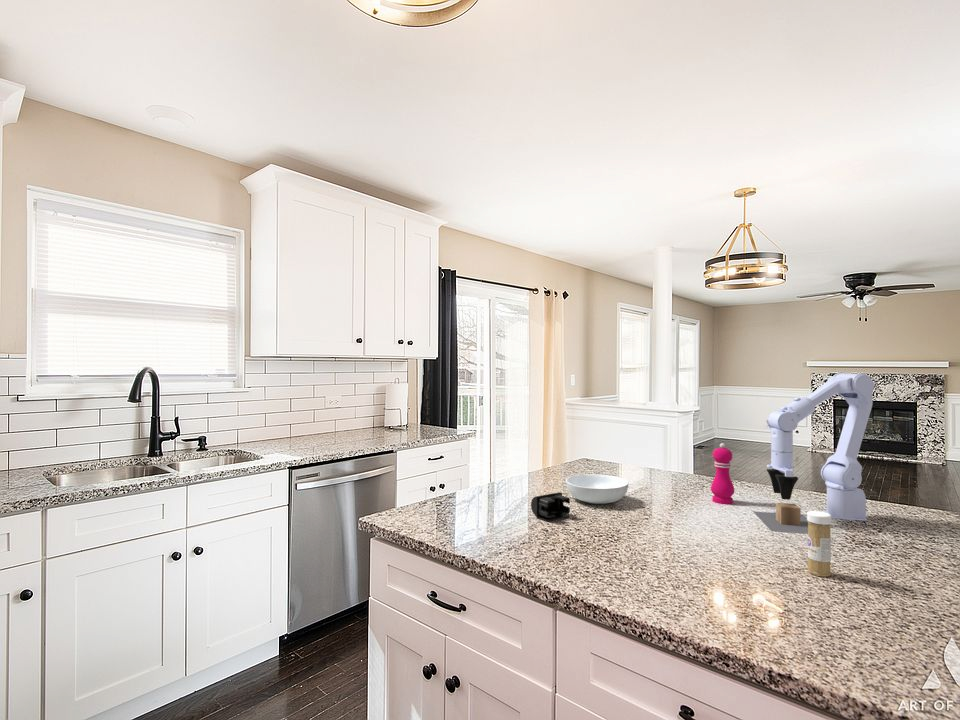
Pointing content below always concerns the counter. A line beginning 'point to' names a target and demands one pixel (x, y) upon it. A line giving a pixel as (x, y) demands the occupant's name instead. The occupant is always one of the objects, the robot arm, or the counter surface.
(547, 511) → the end cap
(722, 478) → the pepper mill
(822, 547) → the sprinkles bottle
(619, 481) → the serving bowl
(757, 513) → the mat
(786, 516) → the cube
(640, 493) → the counter surface
